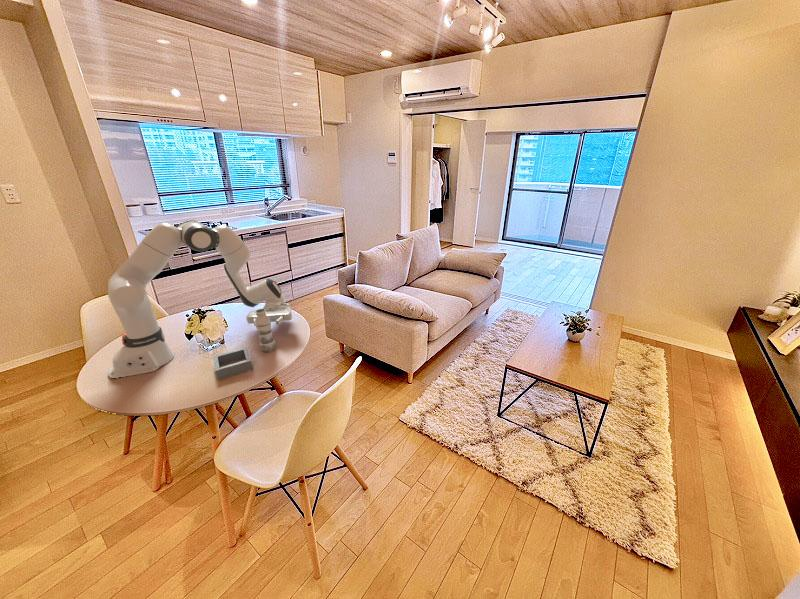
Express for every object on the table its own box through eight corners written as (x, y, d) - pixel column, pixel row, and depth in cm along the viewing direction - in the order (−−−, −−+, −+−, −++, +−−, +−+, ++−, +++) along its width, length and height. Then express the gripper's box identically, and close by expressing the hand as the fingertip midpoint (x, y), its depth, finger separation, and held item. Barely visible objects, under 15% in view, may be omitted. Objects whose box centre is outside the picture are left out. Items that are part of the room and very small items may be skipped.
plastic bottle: (271, 354, 142) (263, 314, 134) (258, 352, 143) (248, 313, 135) (279, 346, 148) (271, 308, 139) (266, 345, 149) (257, 306, 141)
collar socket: (218, 380, 126) (215, 370, 124) (215, 364, 135) (213, 356, 133) (253, 369, 132) (251, 360, 130) (248, 355, 141) (246, 346, 140)
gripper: (249, 306, 155) (241, 319, 143) (292, 303, 158) (288, 315, 146) (251, 317, 158) (244, 331, 145) (294, 314, 161) (290, 327, 148)
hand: (266, 323), depth 146 cm, fingers open, 8 cm apart
